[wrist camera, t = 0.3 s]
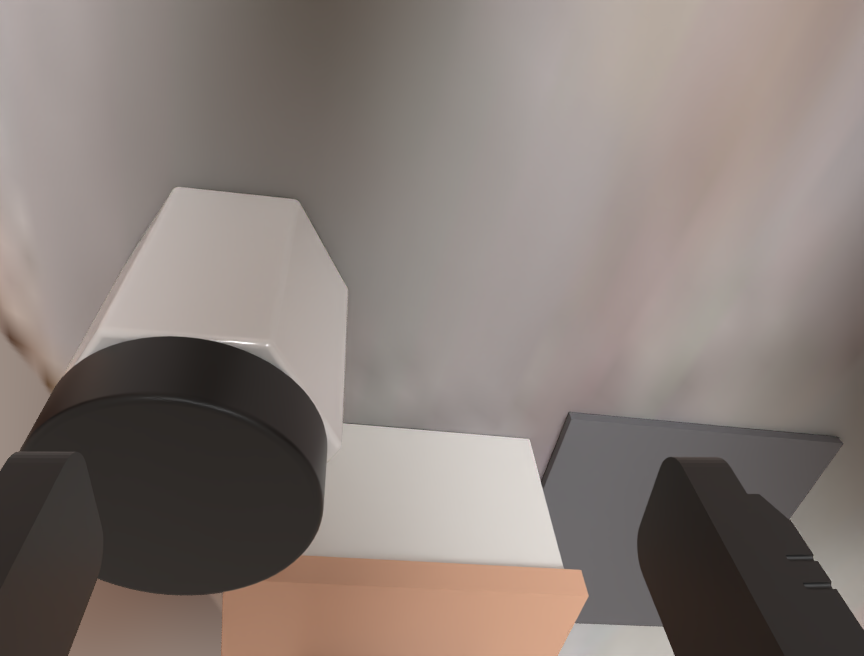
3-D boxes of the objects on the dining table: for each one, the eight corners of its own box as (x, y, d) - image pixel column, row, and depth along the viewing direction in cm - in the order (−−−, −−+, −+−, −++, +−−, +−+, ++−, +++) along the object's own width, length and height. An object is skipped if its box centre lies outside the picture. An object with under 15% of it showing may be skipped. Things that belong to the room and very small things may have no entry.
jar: (133, 349, 30) (22, 596, 21) (113, 173, 26) (-43, 384, 16) (340, 364, 32) (329, 603, 22) (356, 199, 27) (351, 409, 17)
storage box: (266, 416, 33) (241, 560, 27) (529, 439, 35) (565, 576, 29) (254, 582, 40) (233, 727, 34) (473, 592, 42) (492, 730, 36)
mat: (569, 412, 34) (571, 419, 34) (838, 437, 37) (843, 443, 36) (489, 612, 44) (490, 619, 43) (707, 621, 46) (710, 628, 46)
